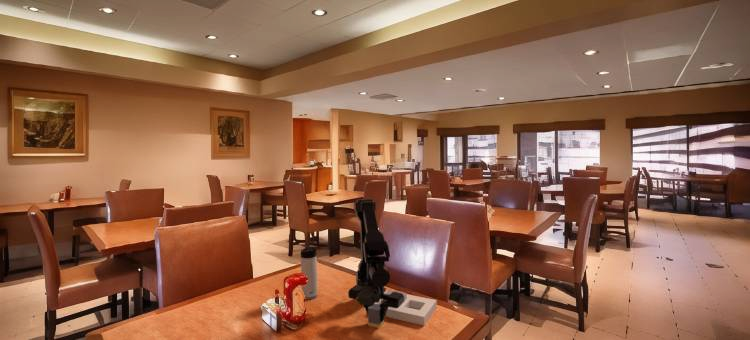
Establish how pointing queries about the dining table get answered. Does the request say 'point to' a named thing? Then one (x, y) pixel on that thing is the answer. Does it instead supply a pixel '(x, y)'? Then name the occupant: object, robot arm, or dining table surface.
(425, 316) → the socket
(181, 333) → the dining table surface
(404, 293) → the block
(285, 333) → the dining table surface
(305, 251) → the travel mug
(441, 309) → the dining table surface
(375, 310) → the plug
